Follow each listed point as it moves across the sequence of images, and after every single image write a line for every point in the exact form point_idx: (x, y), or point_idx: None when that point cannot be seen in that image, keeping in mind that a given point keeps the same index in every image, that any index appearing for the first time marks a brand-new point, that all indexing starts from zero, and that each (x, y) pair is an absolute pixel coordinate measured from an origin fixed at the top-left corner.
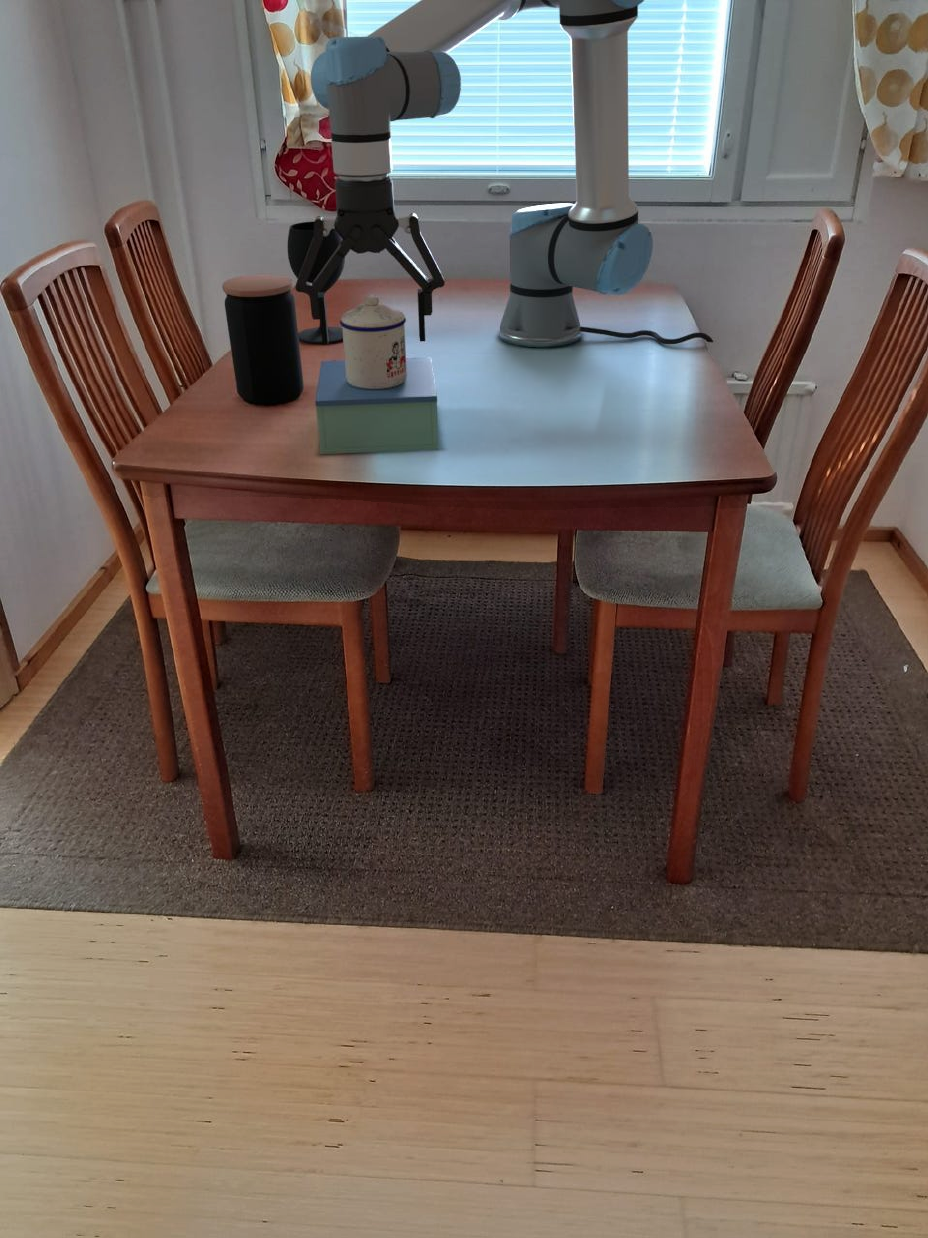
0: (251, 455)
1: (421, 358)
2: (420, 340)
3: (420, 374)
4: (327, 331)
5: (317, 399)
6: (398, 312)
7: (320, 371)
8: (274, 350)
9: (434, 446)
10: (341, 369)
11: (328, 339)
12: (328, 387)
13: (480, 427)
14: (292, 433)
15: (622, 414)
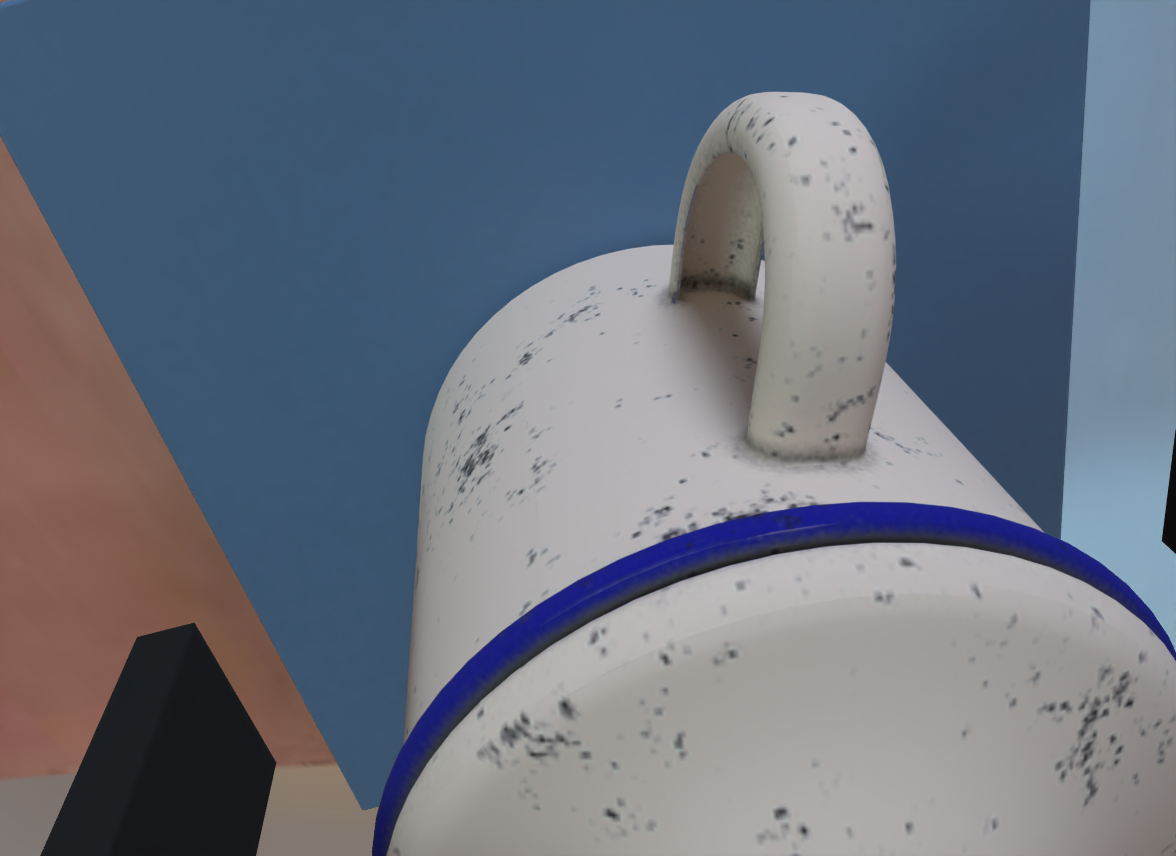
0: (53, 628)
1: None
2: (1171, 542)
3: (974, 289)
4: (210, 781)
5: (365, 792)
6: (1155, 849)
7: (112, 332)
8: None
9: None
10: (280, 258)
11: (214, 669)
12: (350, 631)
13: (1146, 120)
14: (95, 360)
15: None
